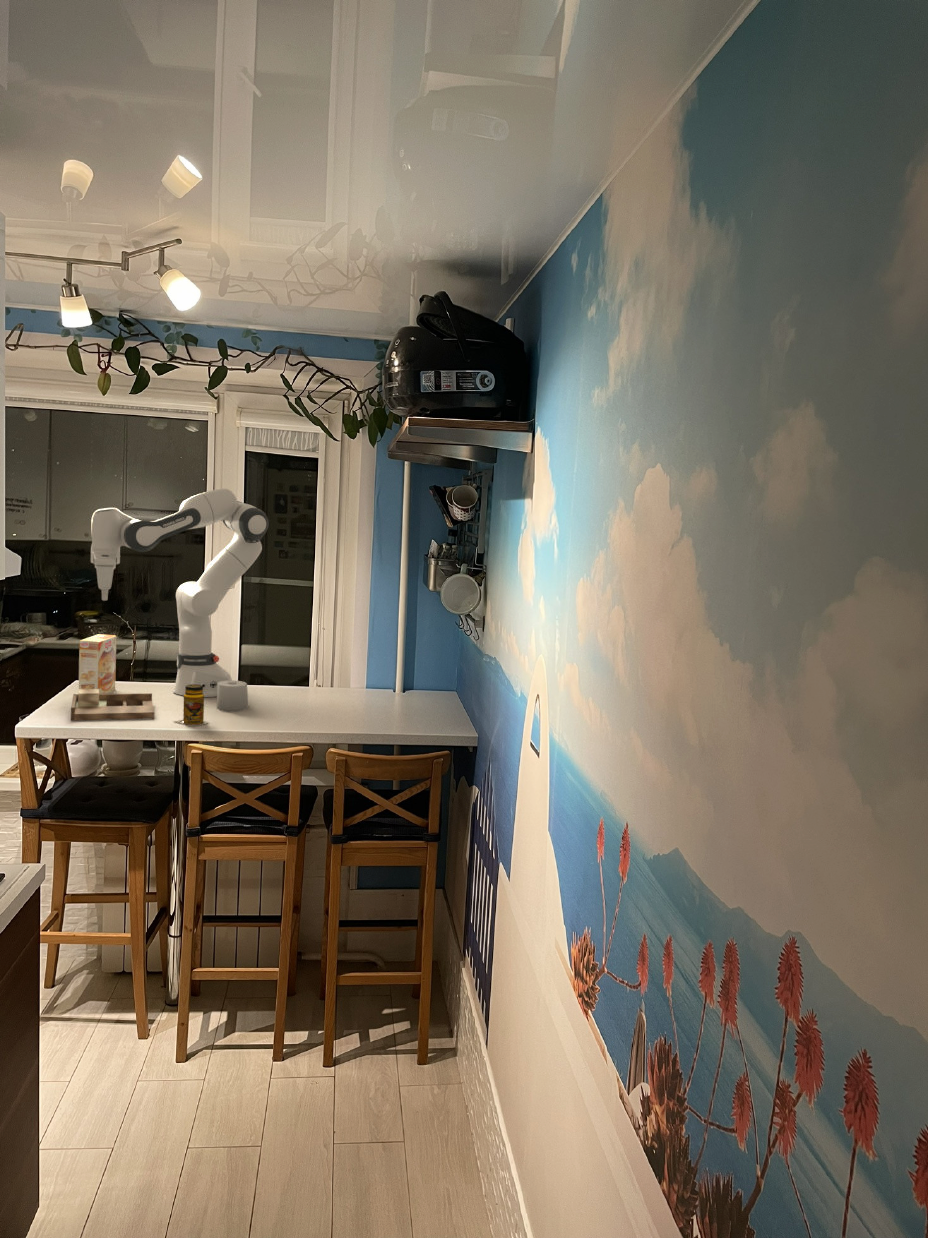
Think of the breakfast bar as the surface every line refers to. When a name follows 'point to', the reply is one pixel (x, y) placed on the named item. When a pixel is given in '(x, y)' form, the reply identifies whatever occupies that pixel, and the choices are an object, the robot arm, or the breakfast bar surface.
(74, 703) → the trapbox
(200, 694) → the condiment
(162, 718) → the breakfast bar surface
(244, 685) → the toilet tissue
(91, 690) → the block
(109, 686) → the coffeecake box
